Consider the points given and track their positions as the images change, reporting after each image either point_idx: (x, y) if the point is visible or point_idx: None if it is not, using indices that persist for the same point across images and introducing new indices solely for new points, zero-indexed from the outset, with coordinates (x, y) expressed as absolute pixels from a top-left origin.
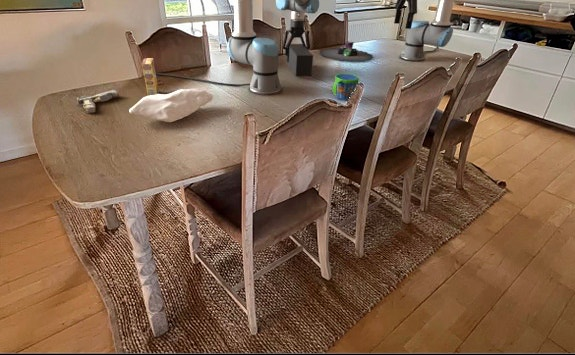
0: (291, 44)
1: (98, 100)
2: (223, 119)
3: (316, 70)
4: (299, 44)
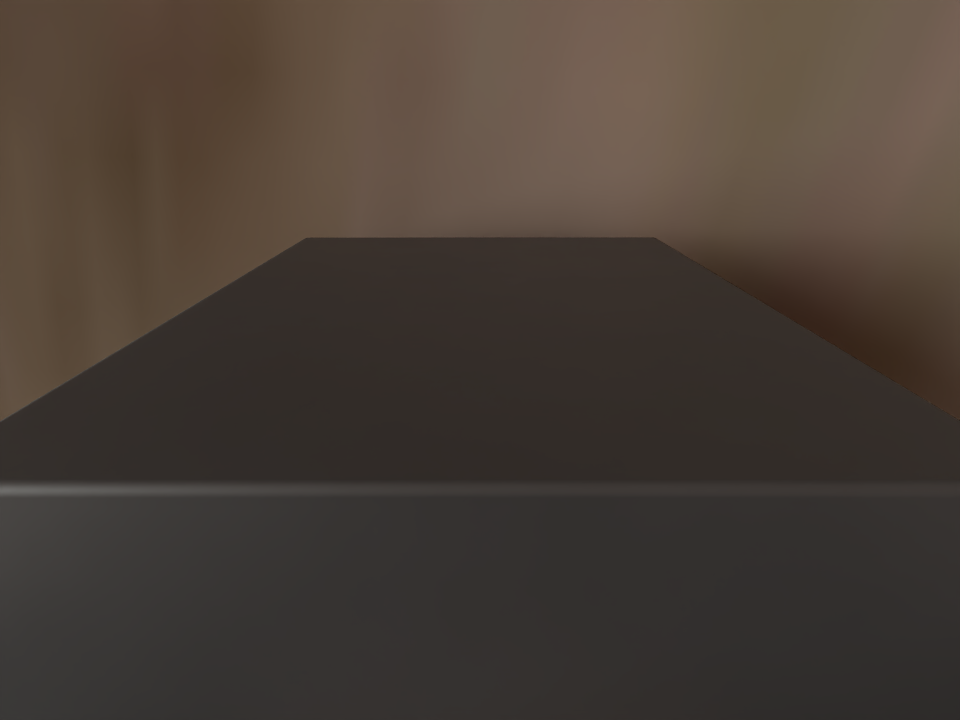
0: (199, 675)
1: None
2: None
3: None
4: (752, 685)
